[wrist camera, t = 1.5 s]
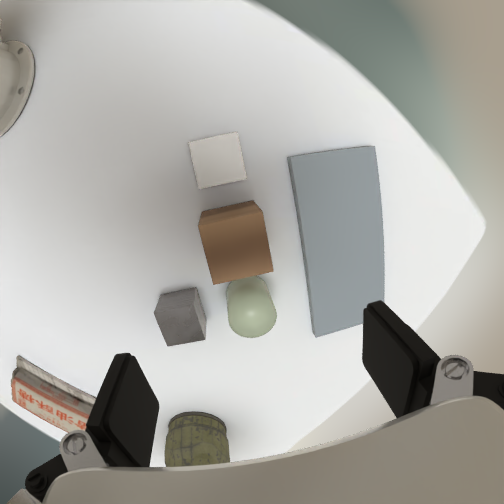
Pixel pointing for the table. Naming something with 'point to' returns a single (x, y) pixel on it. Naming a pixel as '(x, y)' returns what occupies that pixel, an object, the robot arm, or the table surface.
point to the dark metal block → (181, 317)
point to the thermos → (196, 440)
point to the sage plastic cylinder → (250, 307)
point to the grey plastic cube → (217, 160)
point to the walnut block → (235, 242)
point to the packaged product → (50, 397)
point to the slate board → (340, 234)
